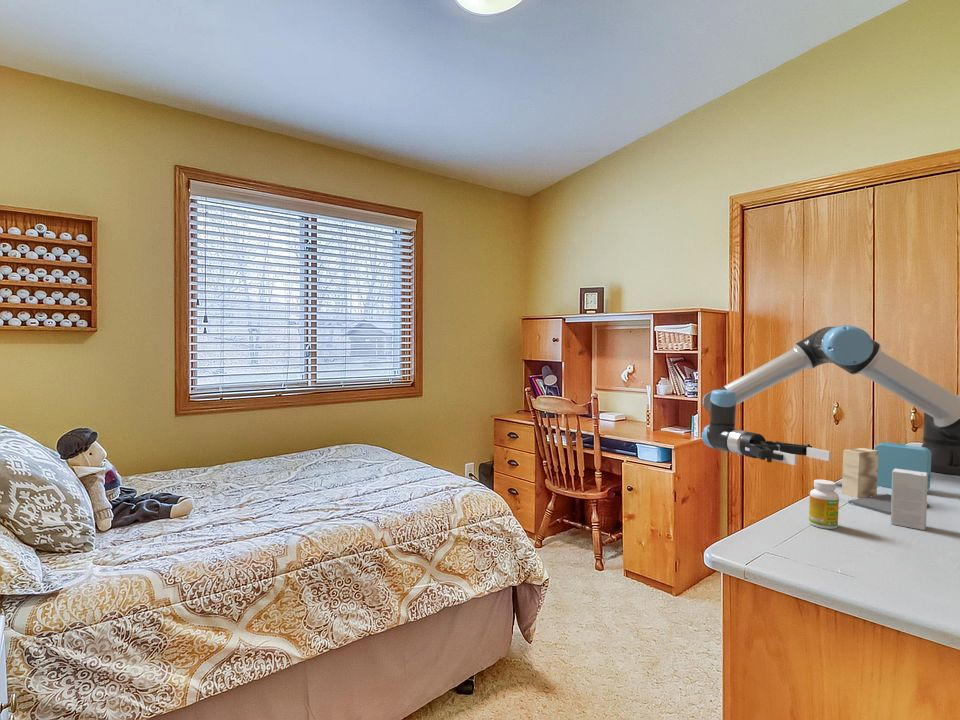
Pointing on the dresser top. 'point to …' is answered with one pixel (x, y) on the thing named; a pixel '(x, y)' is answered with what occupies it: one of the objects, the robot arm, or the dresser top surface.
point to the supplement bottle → (824, 505)
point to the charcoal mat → (876, 503)
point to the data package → (901, 461)
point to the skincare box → (909, 498)
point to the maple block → (860, 472)
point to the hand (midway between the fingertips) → (813, 458)
